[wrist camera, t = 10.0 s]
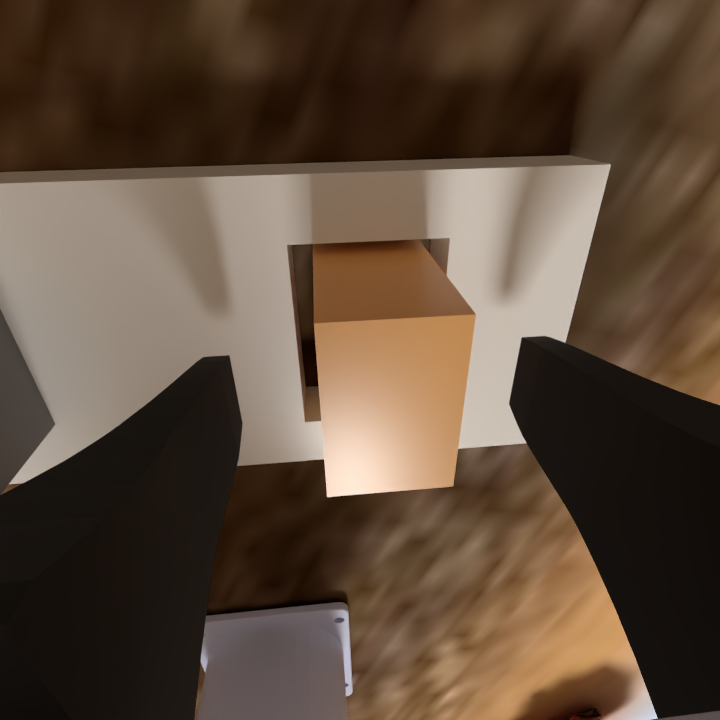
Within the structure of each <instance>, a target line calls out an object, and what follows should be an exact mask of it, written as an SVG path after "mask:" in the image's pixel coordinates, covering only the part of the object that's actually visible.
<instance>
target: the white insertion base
mask: <svg viewBox="0 0 720 720" xmlns="http://www.w3.org/2000/svg"><path fill="white" fill-rule="evenodd" d="M610 166H611V164H607V163H603V162H598V161H594V160H589V159H585V158H580V157H576V156H571V155H562V156H529V157H495V158H461V159H427V160H394V161H360V162H326V163H292V164H259V165H225V166H191V167H157V168H124V169H90V170H56V171H22V172H0V495H1V493H2V492H3V491H4V490H5V488H6V487H7V486H8V485H9V484H17V483H25V482H27V481H28V480H30V479H32V478H34V477H36V476H38V475H39V474H41V473H43V472H45V471H47V470H49V469H50V468H52V467H54V466H56V465H58V464H59V463H61V462H63V461H65V460H66V459H68V458H70V457H72V456H73V455H75V454H76V453H78V452H80V451H81V450H83V449H84V448H86V447H87V446H89V445H91V444H92V443H94V442H95V441H97V440H98V439H100V438H101V437H103V436H104V435H106V434H107V433H109V432H110V431H112V430H113V429H114V428H116V427H117V426H119V425H120V424H121V423H122V422H124V421H125V420H126V419H128V418H129V417H130V416H132V415H133V414H134V413H136V412H137V411H138V410H139V409H141V408H142V407H143V406H145V405H146V404H147V403H149V402H150V401H151V400H152V399H154V398H155V397H156V396H157V395H158V394H160V393H161V392H162V391H163V390H164V389H165V388H167V387H168V386H169V385H170V384H171V383H173V382H174V381H175V380H176V379H177V378H178V377H180V376H181V375H182V374H183V373H184V372H185V371H186V370H188V369H189V368H190V367H191V366H192V365H194V364H195V363H196V362H197V361H198V360H200V359H201V358H203V357H210V356H226V355H229V356H230V361H231V366H232V371H233V376H234V381H235V386H236V392H237V397H238V402H239V407H240V412H241V417H242V422H243V424H242V435H241V444H240V453H239V460H238V464H237V466H245V465H257V464H270V463H283V462H295V461H308V460H321V459H324V450H323V437H322V424H321V411H320V398H319V386H312V387H306V385H305V375H304V364H303V354H302V344H301V333H300V323H299V313H298V302H297V292H296V282H295V271H294V261H293V251H292V245H298V244H322V243H345V242H368V241H391V240H414V239H430V255H431V256H432V257H433V259H434V260H435V261H436V263H437V264H438V265H439V267H440V268H441V269H442V271H443V272H444V273H445V274H446V276H447V277H448V278H449V280H450V281H451V282H452V284H453V285H454V286H455V288H456V289H457V290H458V291H459V293H460V294H461V295H462V297H463V298H464V299H465V301H466V302H467V303H468V305H469V306H470V307H471V308H472V310H473V311H474V312H475V314H476V318H475V326H474V333H473V341H472V348H471V356H470V363H469V371H468V378H467V386H466V393H465V401H464V408H463V416H462V423H461V431H460V438H459V446H458V449H459V448H472V447H485V446H497V445H510V444H523V443H526V441H525V439H524V438H523V436H522V434H521V432H520V429H519V427H518V425H517V423H516V420H515V418H514V415H513V413H512V410H511V408H510V405H509V400H510V395H511V390H512V385H513V380H514V374H515V369H516V364H517V359H518V354H519V349H520V344H521V338H522V337H536V336H547V337H551V338H554V339H556V340H559V341H562V342H564V343H565V342H566V338H567V334H568V330H569V326H570V322H571V318H572V315H573V311H574V307H575V303H576V299H577V295H578V291H579V287H580V283H581V279H582V275H583V271H584V268H585V264H586V260H587V256H588V252H589V248H590V244H591V240H592V236H593V232H594V228H595V225H596V221H597V217H598V213H599V209H600V205H601V201H602V197H603V193H604V189H605V185H606V182H607V178H608V174H609V170H610Z"/></svg>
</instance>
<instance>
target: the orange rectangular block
mask: <svg viewBox="0 0 720 720" xmlns="http://www.w3.org/2000/svg"><path fill="white" fill-rule="evenodd" d="M313 300H314V332H315V345H316V358H317V371H318V384H319V398H320V411H321V424H322V437H323V450H324V463H325V477H326V490H327V497H334V496H346V495H358V494H370V493H381V492H393V491H405V490H416V489H428V488H440V487H452V486H453V483H454V476H455V468H456V461H457V453H458V446H459V438H460V431H461V423H462V416H463V408H464V401H465V393H466V386H467V378H468V371H469V363H470V356H471V348H472V341H473V333H474V326H475V318H476V314H475V312H474V311H473V310H472V308H471V307H470V306H469V305H468V303H467V302H466V301H465V299H464V298H463V297H462V295H461V294H460V293H459V291H458V290H457V289H456V288H455V286H454V285H453V284H452V282H451V281H450V280H449V278H448V277H447V276H446V274H445V273H444V272H443V271H442V269H441V268H440V267H439V265H438V264H437V263H436V261H435V260H434V259H433V257H432V256H431V255H430V254H429V252H428V251H427V250H426V248H425V247H424V246H423V244H422V243H421V242H420V240H419V239H414V240H391V241H368V242H345V243H322V244H313Z"/></svg>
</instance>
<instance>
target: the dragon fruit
mask: <svg viewBox="0 0 720 720" xmlns="http://www.w3.org/2000/svg"><path fill="white" fill-rule="evenodd" d="M599 716H601V711H600V710H599V709H597V708H593V710H591V711H589V712H586V713H577V714H575V715H573V716H572V717H571V718H570V719H569V720H600V719H598V718H597V717H599Z"/></svg>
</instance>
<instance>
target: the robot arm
mask: <svg viewBox="0 0 720 720" xmlns="http://www.w3.org/2000/svg"><path fill="white" fill-rule="evenodd" d="M509 405H510V408H511V410H512V413H513V415H514V418H515V420H516V423H517V425H518V427H519V429H520V432H521V434H522V436H523V438H524V439H525V441H526V443H527V445H528V446H529V448H530V449H531V451H532V453H533V454H534V456H535V458H536V459H537V461H538V463H539V464H540V466H541V467H542V469H543V471H544V472H545V474H546V475H547V477H548V479H549V480H550V482H551V483H552V485H553V487H554V488H555V490H556V491H557V493H558V495H559V496H560V498H561V499H562V501H563V503H564V504H565V506H566V507H567V509H568V511H569V513H570V514H571V516H572V518H573V520H574V521H575V523H576V525H577V527H578V529H579V531H580V533H581V535H582V537H583V539H584V541H585V543H586V545H587V547H588V550H589V552H590V554H591V556H592V558H593V560H594V562H595V564H596V566H597V569H598V571H599V573H600V575H601V577H602V580H603V582H604V584H605V586H606V589H607V591H608V593H609V595H610V598H611V600H612V602H613V604H614V607H615V609H616V611H617V614H618V616H619V619H620V621H621V624H622V626H623V629H624V631H625V633H626V636H627V638H628V641H629V643H630V646H631V648H632V651H633V653H634V655H635V658H636V661H637V663H638V666H639V669H640V671H641V674H642V677H643V679H644V682H645V685H646V688H647V690H648V693H649V696H650V698H651V701H652V704H653V706H654V709H655V712H656V714H657V717H658V719H653V720H720V405H717V404H714V403H711V402H708V401H705V400H702V399H699V398H696V397H693V396H690V395H687V394H684V393H682V392H679V391H676V390H674V389H671V388H669V387H666V386H664V385H661V384H659V383H656V382H654V381H651V380H649V379H646V378H644V377H641V376H639V375H637V374H634V373H632V372H630V371H627V370H625V369H623V368H620V367H618V366H616V365H614V364H611V363H609V362H607V361H605V360H603V359H600V358H598V357H596V356H594V355H592V354H589V353H587V352H585V351H583V350H580V349H578V348H576V347H574V346H571V345H569V344H567V343H564V342H562V341H559V340H556V339H554V338H551V337H547V336H536V337H522V338H521V344H520V349H519V354H518V359H517V364H516V369H515V374H514V380H513V385H512V390H511V395H510V400H509ZM242 424H243V422H242V417H241V412H240V407H239V402H238V397H237V392H236V386H235V381H234V376H233V371H232V366H231V361H230V356H229V355H226V356H210V357H203V358H201V359H200V360H198V361H197V362H196V363H195V364H194V365H192V366H191V367H190V368H189V369H188V370H186V371H185V372H184V373H183V374H182V375H181V376H180V377H178V378H177V379H176V380H175V381H174V382H173V383H171V384H170V385H169V386H168V387H167V388H165V389H164V390H163V391H162V392H161V393H160V394H158V395H157V396H156V397H155V398H154V399H152V400H151V401H150V402H149V403H147V404H146V405H145V406H143V407H142V408H141V409H139V410H138V411H137V412H136V413H134V414H133V415H132V416H130V417H129V418H128V419H126V420H125V421H124V422H122V423H121V424H120V425H119V426H117V427H116V428H114V429H113V430H112V431H110V432H109V433H107V434H106V435H104V436H103V437H101V438H100V439H98V440H97V441H95V442H94V443H92V444H91V445H89V446H87V447H86V448H84V449H83V450H81V451H80V452H78V453H76V454H75V455H73V456H72V457H70V458H68V459H66V460H65V461H63V462H61V463H59V464H58V465H56V466H54V467H52V468H50V469H49V470H47V471H45V472H43V473H41V474H39V475H38V476H36V477H34V478H32V479H30V480H28V481H27V482H25V483H23V484H21V485H19V486H17V487H16V488H14V489H12V490H10V491H8V492H6V493H4V494H2V495H0V720H194V717H195V707H196V698H197V689H198V679H199V670H200V662H201V664H202V667H203V669H204V671H205V678H204V683H203V689H202V694H201V700H200V705H199V710H198V716H197V720H347V706H346V696H349V695H351V694H352V692H353V687H352V668H351V649H350V630H349V611H348V605H347V604H345V603H343V602H334V603H325V604H315V605H305V606H296V607H286V608H276V609H267V610H257V611H247V612H238V613H228V614H218V615H209V616H206V613H207V605H208V598H209V591H210V584H211V577H212V571H213V564H214V558H215V553H216V548H217V544H218V539H219V535H220V531H221V527H222V523H223V520H224V516H225V512H226V508H227V504H228V500H229V496H230V492H231V488H232V484H233V480H234V476H235V472H236V468H237V464H238V460H239V453H240V444H241V435H242Z"/></svg>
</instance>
